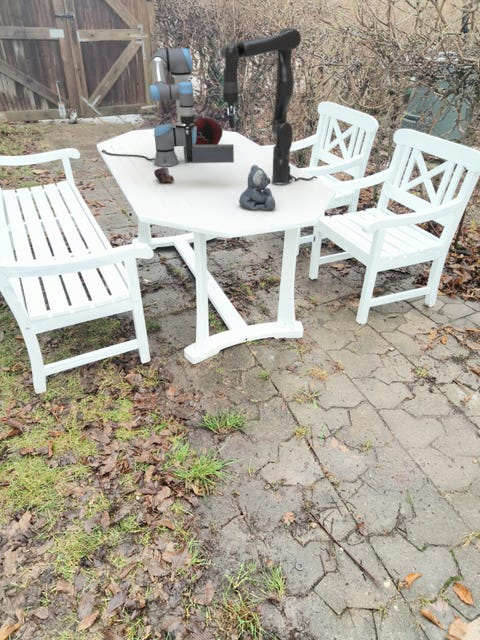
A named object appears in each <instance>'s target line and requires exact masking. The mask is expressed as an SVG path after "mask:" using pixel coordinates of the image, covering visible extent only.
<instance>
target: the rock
mask: <svg viewBox="0 0 480 640" xmlns="http://www.w3.org/2000/svg"><path fill="white" fill-rule="evenodd" d="M153 173H154V177H155V178H156V179H157V181H158V182H160V183H162V184H163V183H172V182H174V181H175V179H174V176H173V175H171V174H170V172H169V167H160V168H156V169H155V170H154V172H153Z"/></svg>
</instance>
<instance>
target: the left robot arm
mask: <svg viewBox="0 0 480 640" xmlns="http://www.w3.org/2000/svg"><path fill="white" fill-rule="evenodd" d="M148 64H149V69H150V72H151V77H152V84H151V85H149V96H150V100H151V101H154V102H163V101H175V105H176V117H177V121H176V123H175V124H174V125H175V126H173V125H172V124H170V123H169V124H168V123H166V124H161V125H158V126H156V127H155V128H154V129H153V133H154V134H153V136H154V142H155V143H154V145H155V155H154V157H153V158H148V157H147V156H145V155H140V154H125V153H124V154H123V153H111V152H107V151H106V150H105V149H102V150H101V152H102V153H103V152H104V153H105V154H106V155H110V156H117V157H118V156H122V157H138V158H139V157H140V158H145V159H146V160H148V161H154V165H155V166H157V167H160V168H162V167H164V168H169V167H174V166H177V165H178V164H179V159H178V156H177V153H176V151H175V148H176V147H184V145H186V149H185V150H187V162H192V149H191V145H195V143H196V135H197V132H196V130H197V128H196V126H194V123H195V121H196V117H195V111H196V108H195V105H194V104H195V103H194V101H195V99H194V87H193V83H192V82H190V80H189V79H190V76H191V75H192V72H193V71H194V66H193V60H192V54H191V51H190V49H188V48H183V47H178V48H177V47H175V48H160V49H159V50H157V51H155V52H154V53H153V54H152V55H151V57H150V59H149V63H148ZM167 72H170V74H171V77H172V78H173V79H174V81H173V82H174V84H173V83H172V84H168V82H167V75H166V73H167Z"/></svg>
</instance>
